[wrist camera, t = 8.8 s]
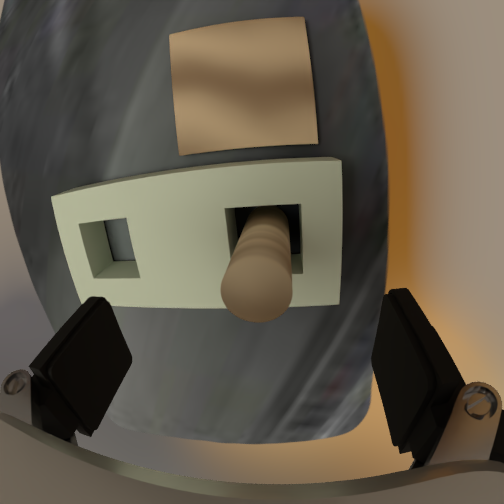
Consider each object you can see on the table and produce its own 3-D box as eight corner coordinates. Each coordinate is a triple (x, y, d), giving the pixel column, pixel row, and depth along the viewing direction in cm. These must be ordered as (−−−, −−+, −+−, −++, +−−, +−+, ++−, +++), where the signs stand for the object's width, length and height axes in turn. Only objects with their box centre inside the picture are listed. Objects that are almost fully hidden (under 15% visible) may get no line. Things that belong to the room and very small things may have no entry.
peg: (244, 206, 21) (215, 261, 12) (287, 203, 21) (291, 258, 12) (248, 246, 23) (225, 322, 13) (289, 244, 22) (293, 321, 13)
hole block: (75, 187, 22) (50, 196, 19) (331, 156, 19) (341, 160, 16) (100, 285, 26) (81, 303, 23) (332, 281, 23) (339, 304, 20)
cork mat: (171, 36, 17) (169, 34, 16) (303, 19, 15) (304, 16, 15) (181, 155, 20) (179, 155, 20) (317, 143, 19) (318, 143, 19)
